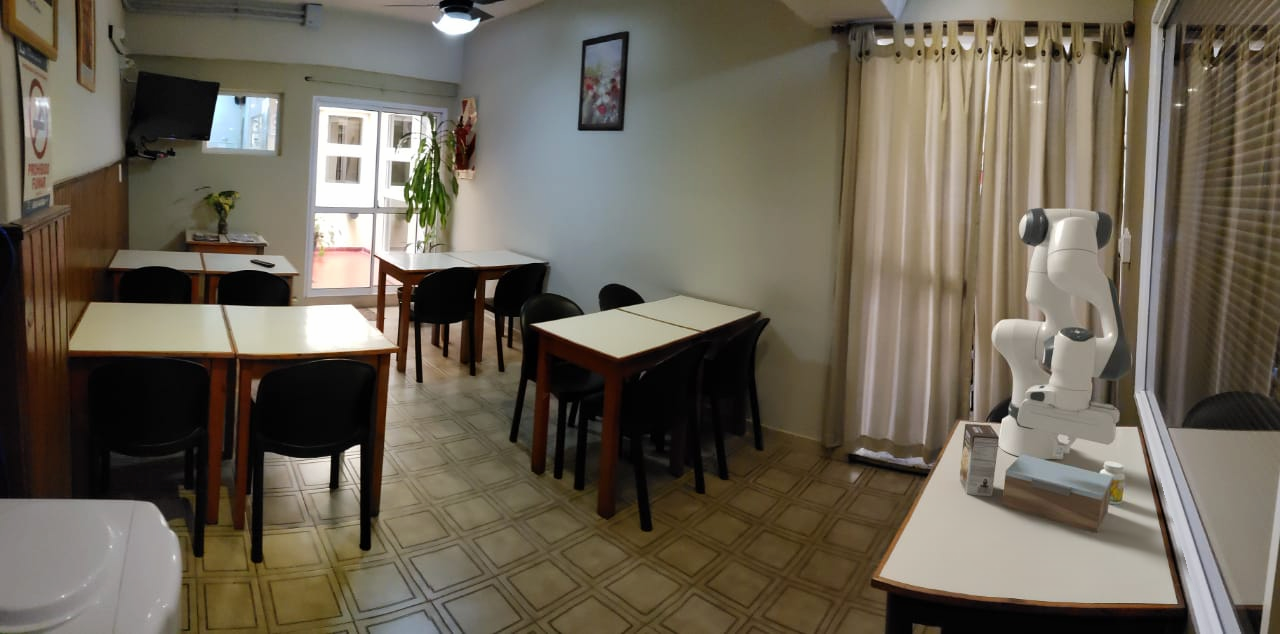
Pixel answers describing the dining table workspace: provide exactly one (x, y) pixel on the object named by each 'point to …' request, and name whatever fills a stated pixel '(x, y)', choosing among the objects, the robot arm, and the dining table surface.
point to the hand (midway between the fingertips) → (1061, 451)
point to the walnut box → (1056, 504)
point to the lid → (1059, 477)
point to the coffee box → (978, 459)
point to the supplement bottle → (1115, 480)
